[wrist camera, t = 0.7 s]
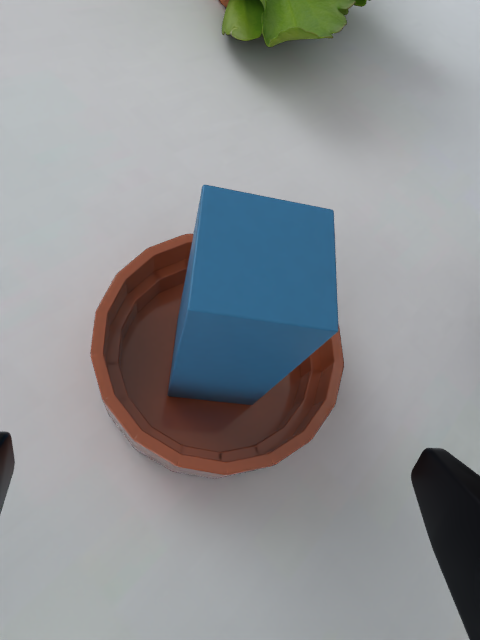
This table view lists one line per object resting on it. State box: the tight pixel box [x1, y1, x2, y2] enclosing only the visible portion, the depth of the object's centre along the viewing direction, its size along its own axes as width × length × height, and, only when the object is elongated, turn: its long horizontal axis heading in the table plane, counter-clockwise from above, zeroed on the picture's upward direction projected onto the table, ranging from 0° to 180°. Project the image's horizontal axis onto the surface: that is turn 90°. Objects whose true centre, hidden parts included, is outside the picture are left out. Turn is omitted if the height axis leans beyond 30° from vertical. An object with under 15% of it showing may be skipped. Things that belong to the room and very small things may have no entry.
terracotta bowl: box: [90, 234, 344, 478], centre depth 23 cm, size 13×13×4 cm
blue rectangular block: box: [168, 185, 338, 405], centre depth 19 cm, size 5×5×12 cm
